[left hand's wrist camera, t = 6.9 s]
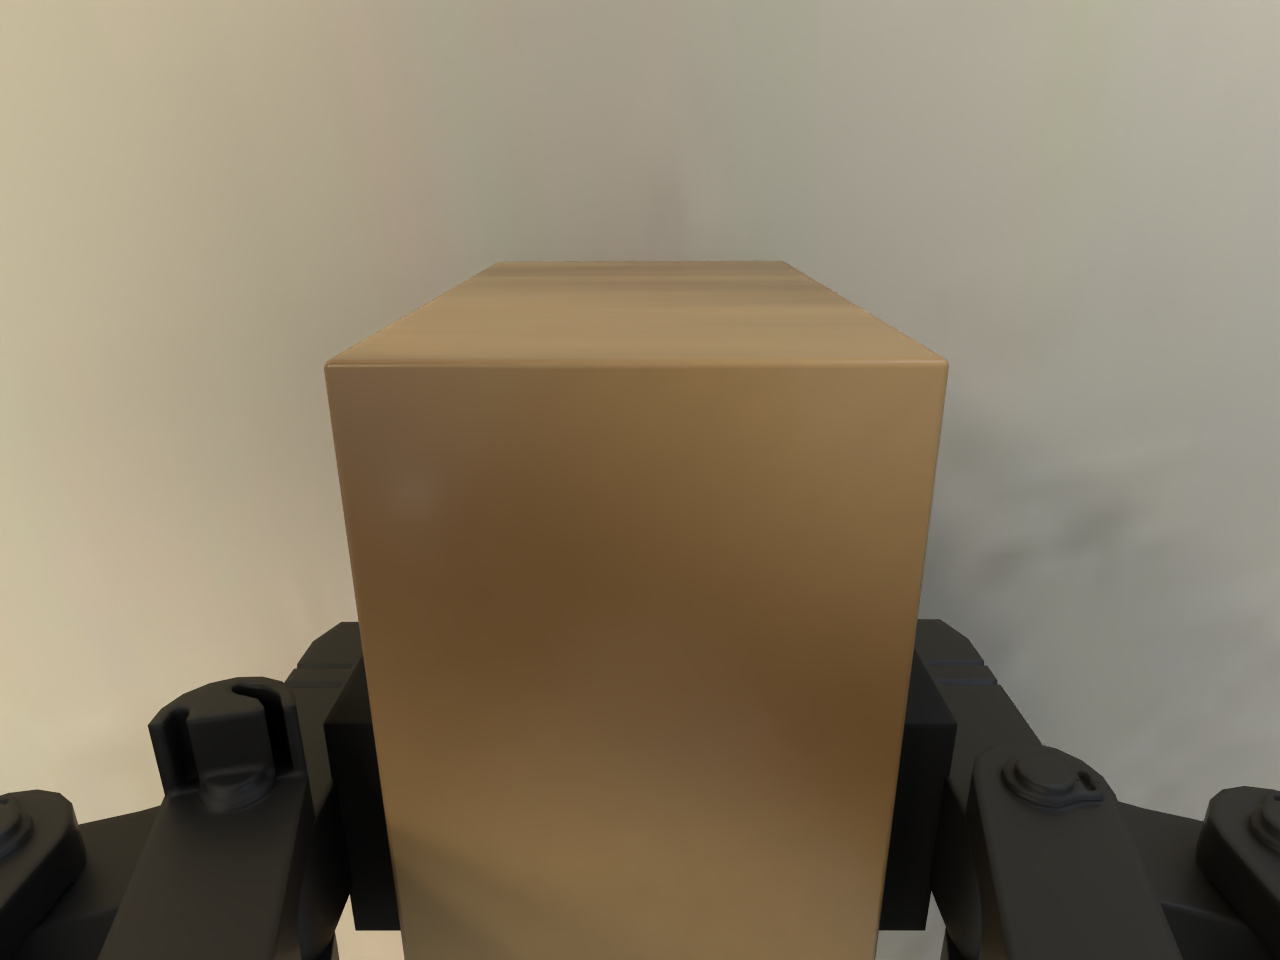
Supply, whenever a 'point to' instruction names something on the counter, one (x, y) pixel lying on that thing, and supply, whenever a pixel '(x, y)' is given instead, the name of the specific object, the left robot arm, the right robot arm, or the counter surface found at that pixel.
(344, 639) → the left robot arm
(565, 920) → the post
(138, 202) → the counter surface
